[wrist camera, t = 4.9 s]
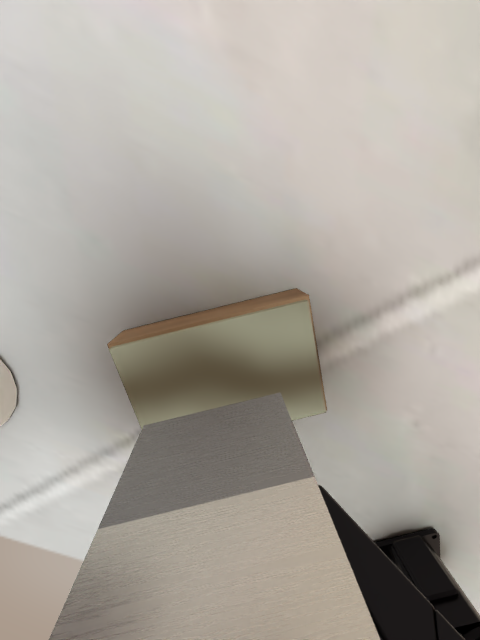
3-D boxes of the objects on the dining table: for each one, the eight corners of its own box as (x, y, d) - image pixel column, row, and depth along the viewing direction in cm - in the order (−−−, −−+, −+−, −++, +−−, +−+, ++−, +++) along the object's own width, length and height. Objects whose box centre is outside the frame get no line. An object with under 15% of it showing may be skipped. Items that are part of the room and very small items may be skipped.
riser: (313, 389, 20) (329, 414, 17) (160, 427, 20) (150, 458, 17) (296, 288, 17) (311, 296, 14) (123, 330, 17) (103, 347, 14)
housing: (280, 392, 9) (475, 873, 2) (302, 496, 10) (464, 996, 3) (143, 425, 9) (-119, 1019, 2) (184, 525, 10) (106, 1086, 3)
